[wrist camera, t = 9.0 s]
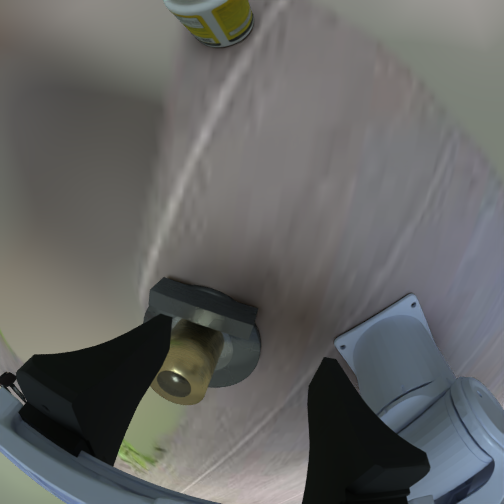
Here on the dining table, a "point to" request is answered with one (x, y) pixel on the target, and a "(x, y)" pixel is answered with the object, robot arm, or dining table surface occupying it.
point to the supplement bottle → (214, 19)
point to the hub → (189, 363)
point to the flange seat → (212, 324)
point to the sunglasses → (10, 384)
